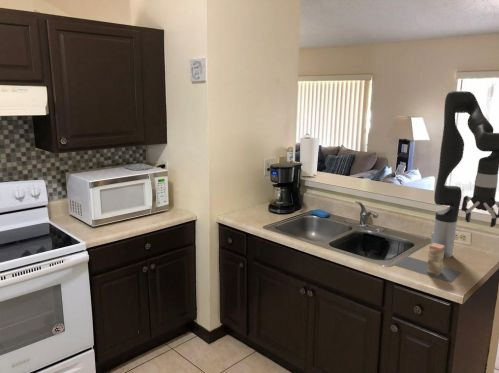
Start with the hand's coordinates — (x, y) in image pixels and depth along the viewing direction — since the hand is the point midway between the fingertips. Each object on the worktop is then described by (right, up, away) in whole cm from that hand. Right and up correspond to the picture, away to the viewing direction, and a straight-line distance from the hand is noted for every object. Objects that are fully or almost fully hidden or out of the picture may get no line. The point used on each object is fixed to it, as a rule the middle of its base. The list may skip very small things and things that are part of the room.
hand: (479, 224), depth 164 cm
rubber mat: (-14, -21, +15) cm, 29 cm away
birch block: (-13, -21, +11) cm, 27 cm away
